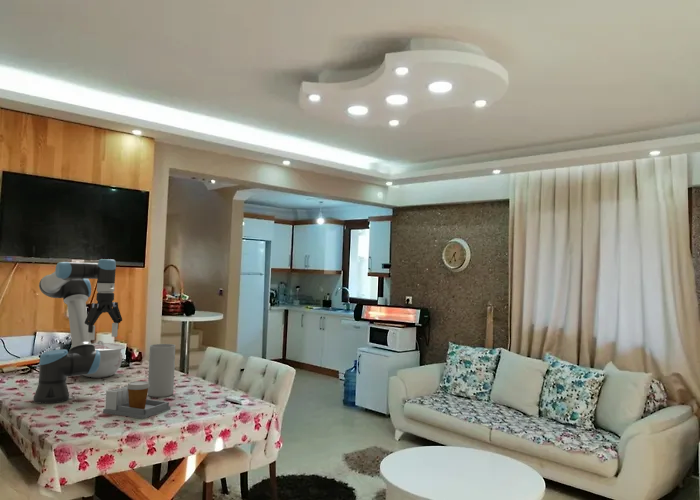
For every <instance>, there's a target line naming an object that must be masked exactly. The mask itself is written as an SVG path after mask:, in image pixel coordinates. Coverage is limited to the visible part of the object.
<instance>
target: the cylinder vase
mask: <svg viewBox="0 0 700 500" xmlns="http://www.w3.org/2000/svg"><path fill="white" fill-rule="evenodd" d="M148 357H149V359H148V377H147V378H148V379H147V382H149V385H150V386H149V388H148V393H147V396H149V397H154V398H165V397H169V396H172V395H174V387H175V386H174V385H175V384H174V383H175V369H176V368H175V363H176V362H175V361H176V344H172V343H156V344H151V345H149V356H148Z"/></svg>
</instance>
